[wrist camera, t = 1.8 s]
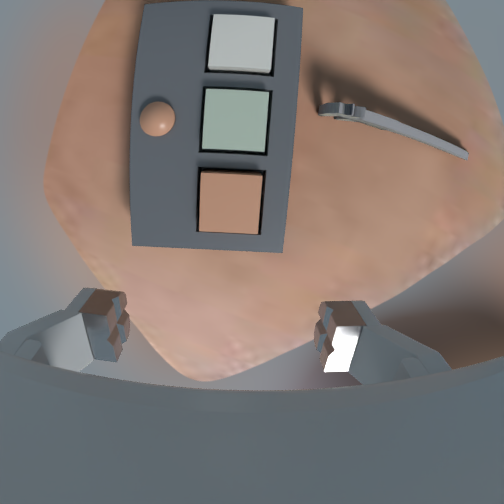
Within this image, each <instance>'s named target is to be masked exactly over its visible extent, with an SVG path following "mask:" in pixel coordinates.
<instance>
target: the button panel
mask: <svg viewBox="0 0 504 504" xmlns="http://www.w3.org/2000/svg"><path fill="white" fill-rule="evenodd" d="M214 14H226V15H247V16H260V17H270V18H275V21H274V35H273V48H272V61H271V70H270V72H269V74H268V76H259V75H246V74H228V73H211V72H210V69H209V67H208V62H209V52H210V42H211V33H212V25H213V16H214ZM302 19H303V8H300V7H294V6H287V5H279V4H270V3H260V2H246V1H221V0H202V1H177V2H164V3H153V4H145V6H144V11H143V17H142V23H141V29H140V35H139V42H138V49H137V57H136V66H135V75H134V86H133V98H132V112H131V133H130V211H131V232H132V246H150V247H171V248H191V249H212V250H233V251H253V252H274V253H282V252H283V243H284V235H285V226H286V217H287V207H288V198H289V188H290V178H291V167H292V157H293V146H294V134H295V123H296V110H297V97H298V84H299V70H300V54H301V38H302ZM206 89H229V90H247V91H260V92H269V100H268V113H267V126H266V138H265V151H264V152H259V151H244V150H226V149H202V141H203V125H204V110H205V96H206ZM204 169H219V170H239V171H255V172H260V173H261V175H262V188H261V201H260V213H259V225H258V234H245V233H225V232H204V231H199V217H200V184H201V172H202V171H203V170H204Z"/></svg>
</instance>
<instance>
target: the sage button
mask: <svg viewBox="0 0 504 504" xmlns="http://www.w3.org/2000/svg"><path fill="white" fill-rule="evenodd" d="M268 100H269V92H260V91H247V90H229V89H206V96H205V110H204V125H203V141H202V149H226V150H244V151H259V152H264V151H265V138H266V126H267V113H268Z"/></svg>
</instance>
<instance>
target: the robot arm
mask: <svg viewBox="0 0 504 504" xmlns="http://www.w3.org/2000/svg"><path fill="white" fill-rule="evenodd" d="M126 305H127V299H126V294H125V293H124V292H121V291H112V290H103V289H97V288H83V289H82V290H81V291H80V293H79V294H78V295H77V296H76V297H75V298H74V299H73V301H72V302H71V303H70V304H69V306H68V307H67V308H66V309H65V310H59V311H57V312H55V313H52V314H50V315H47V316H45V317H43V318H40V319H38V320H36V321H33V322H31V323H29V324H26V325H24V326H21V327H19V328H17V329H15V330H12V331H10V332H8V333H7V334H6V335H5V336H4V337H3V339H2V340H1V341H0V504H504V356H503V357H499V358H496V359H493V360H489V361H486V362H482V363H478V364H475V365H471V366H467V367H463V368H459V369H455V370H452V369H451V368H450V366H449V365H448V364H447V363H446V361H445V360H444V358H443V357H442V356H441V355H440V353H438V352H437V351H435V350H433V349H431V348H429V347H427V346H425V345H423V344H421V343H419V342H417V341H415V340H413V339H411V338H409V337H407V336H406V335H404V334H402V333H400V332H398V331H396V330H394V329H392V328H390V327H388V326H386V325H381V324H380V322H379V321H378V320H377V318H376V317H375V315H374V314H373V312H372V311H371V310H370V308H369V307H368V305H367V304H366V303H365V301H362V300H360V301H324V302H321V304H320V307H319V311H318V313H319V316H320V318H321V319H320V320H319V321H318V322H317V323H316V325H315V331H314V342H315V347H316V350H318V351H319V352H320V353H321V355H320V361H321V364H322V367H323V369H324V372H330V371H348V372H349V373H350V374H351V375H352V376H354V377H355V378H356V379H357V380H358V381H359V382H361V383H362V384H363V385H358V386H348V387H337V388H323V389H308V390H307V389H306V390H277V391H276V390H275V391H249V390H247V391H246V390H245V391H244V390H216V389H199V388H198V389H197V388H186V387H174V386H164V385H156V384H147V383H139V382H132V381H126V380H119V379H112V378H107V377H101V376H96V375H91V374H85V373H81V372H79V371H80V370H82V369H83V368H84V367H86V366H87V365H88V364H90V363H91V362H92V361H94V359H97V360H104V361H111V362H117V361H118V359H119V356H120V354H121V352H122V350H123V349H122V343H124V342H126V341H127V339H128V336H129V331H130V318H129V314H128V313H127V312H126V311H125V307H126Z"/></svg>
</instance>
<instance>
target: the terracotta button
mask: <svg viewBox="0 0 504 504" xmlns="http://www.w3.org/2000/svg"><path fill="white" fill-rule="evenodd" d="M261 188H262V175H261V173H260V172H255V171H239V170H219V169H204V170H203V171H202V172H201V184H200V217H199V231H204V232H225V233H245V234H258V225H259V213H260V201H261Z"/></svg>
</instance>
